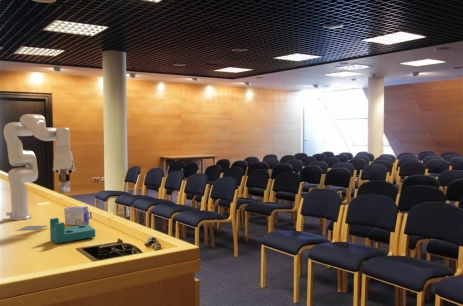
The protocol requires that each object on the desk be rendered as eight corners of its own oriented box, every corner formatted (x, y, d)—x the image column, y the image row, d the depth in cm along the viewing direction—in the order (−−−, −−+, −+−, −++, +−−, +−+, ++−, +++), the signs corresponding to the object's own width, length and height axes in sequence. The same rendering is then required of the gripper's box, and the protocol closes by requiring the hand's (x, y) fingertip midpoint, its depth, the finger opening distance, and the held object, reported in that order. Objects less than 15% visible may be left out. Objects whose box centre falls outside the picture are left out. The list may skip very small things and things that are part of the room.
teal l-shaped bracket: (56, 246, 200) (56, 224, 199) (50, 240, 208) (49, 218, 207) (95, 239, 211) (95, 218, 209) (87, 234, 219) (87, 213, 218)
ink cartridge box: (70, 223, 251) (93, 223, 248) (64, 225, 245) (88, 226, 242) (69, 206, 250) (92, 206, 247) (63, 208, 244) (86, 208, 241)
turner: (59, 193, 244) (58, 170, 243) (65, 191, 252) (64, 168, 251) (64, 193, 244) (63, 170, 243) (70, 191, 252) (69, 168, 251)
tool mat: (15, 231, 232) (15, 230, 232) (27, 226, 244) (27, 225, 244) (37, 231, 231) (37, 230, 231) (48, 226, 243) (48, 225, 243)
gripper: (46, 149, 244) (47, 182, 244) (74, 149, 243) (75, 182, 244) (52, 149, 251) (53, 181, 252) (80, 148, 250) (81, 180, 251)
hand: (64, 181), depth 248 cm, fingers closed on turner, 3 cm apart
